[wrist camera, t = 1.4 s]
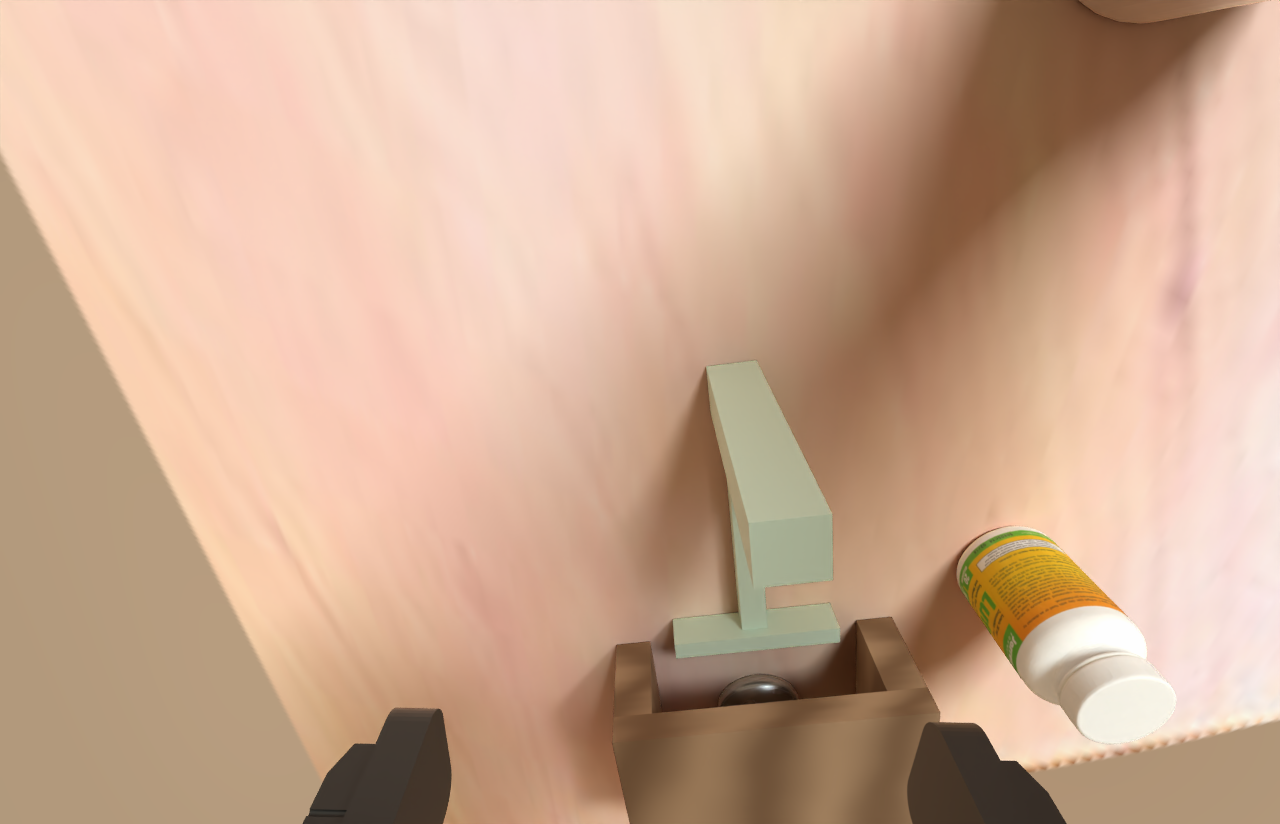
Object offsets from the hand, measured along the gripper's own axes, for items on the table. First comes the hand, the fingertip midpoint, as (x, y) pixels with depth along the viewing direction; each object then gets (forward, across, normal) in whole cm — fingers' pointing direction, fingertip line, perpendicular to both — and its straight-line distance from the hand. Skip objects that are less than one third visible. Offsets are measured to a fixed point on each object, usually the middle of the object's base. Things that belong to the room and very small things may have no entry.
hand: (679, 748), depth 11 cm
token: (+21, -7, +23) cm, 32 cm away
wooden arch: (+21, -7, +22) cm, 31 cm away
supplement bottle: (+21, -19, +12) cm, 31 cm away
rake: (+21, -5, +9) cm, 23 cm away
